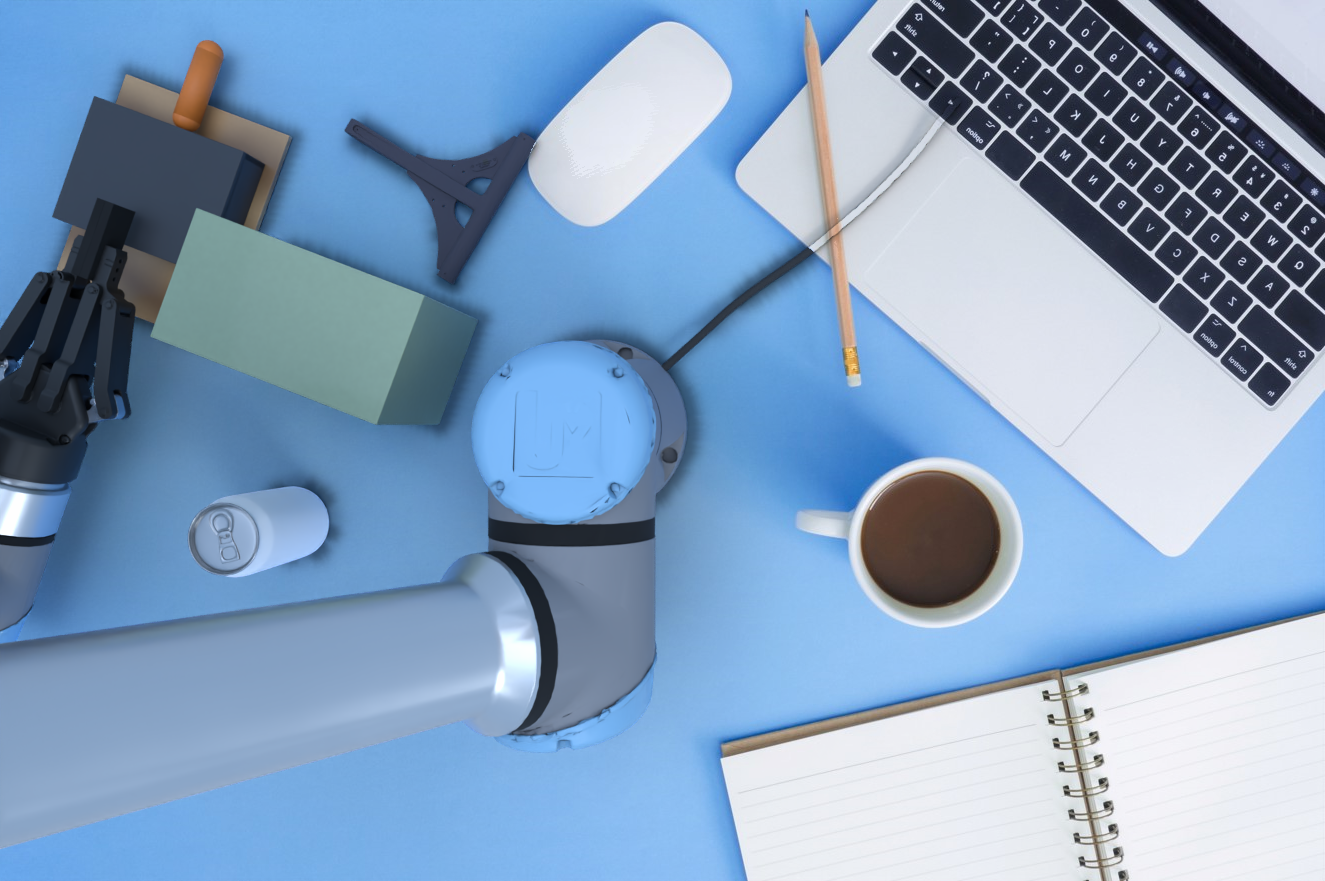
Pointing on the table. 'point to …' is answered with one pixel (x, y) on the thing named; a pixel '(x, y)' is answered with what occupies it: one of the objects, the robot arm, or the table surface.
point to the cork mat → (152, 274)
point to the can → (257, 531)
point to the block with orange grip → (159, 166)
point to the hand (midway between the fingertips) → (116, 205)
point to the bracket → (455, 189)
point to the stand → (312, 325)
